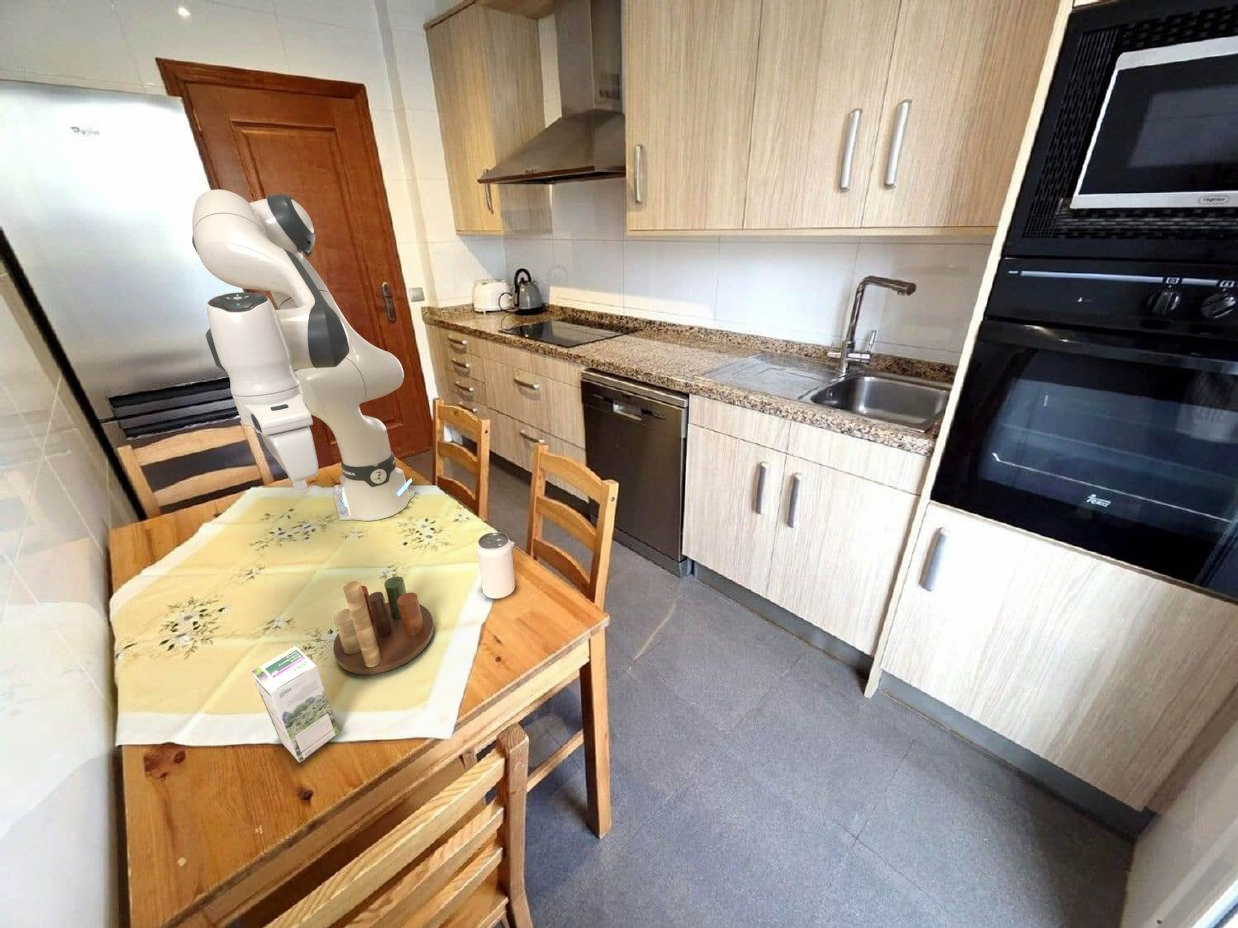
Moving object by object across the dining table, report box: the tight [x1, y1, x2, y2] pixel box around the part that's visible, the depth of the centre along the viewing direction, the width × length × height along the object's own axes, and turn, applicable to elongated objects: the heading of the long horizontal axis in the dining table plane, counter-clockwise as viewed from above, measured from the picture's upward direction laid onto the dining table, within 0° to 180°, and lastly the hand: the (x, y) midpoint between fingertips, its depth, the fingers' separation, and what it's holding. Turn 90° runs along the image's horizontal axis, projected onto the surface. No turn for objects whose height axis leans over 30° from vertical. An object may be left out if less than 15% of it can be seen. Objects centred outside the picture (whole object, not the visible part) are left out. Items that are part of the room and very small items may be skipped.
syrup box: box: [250, 645, 340, 763], centre depth 69 cm, size 6×6×14 cm
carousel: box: [332, 575, 435, 675], centre depth 85 cm, size 16×16×17 cm
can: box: [476, 531, 516, 600], centre depth 99 cm, size 6×6×12 cm
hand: (299, 486), depth 82 cm, fingers closed
